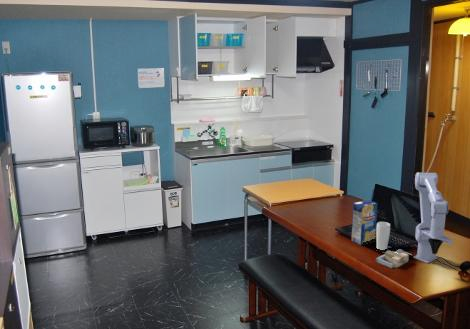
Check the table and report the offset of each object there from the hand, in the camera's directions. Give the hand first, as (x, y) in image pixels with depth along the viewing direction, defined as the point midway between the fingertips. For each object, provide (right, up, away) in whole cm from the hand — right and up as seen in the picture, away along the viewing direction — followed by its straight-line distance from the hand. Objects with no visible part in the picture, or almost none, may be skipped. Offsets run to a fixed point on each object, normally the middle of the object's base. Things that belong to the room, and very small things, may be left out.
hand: (434, 253), depth 210 cm
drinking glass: (-17, -4, +25) cm, 31 cm away
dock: (-15, -6, +14) cm, 22 cm away
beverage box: (-23, -1, +38) cm, 44 cm away
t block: (-14, -7, +12) cm, 20 cm away
